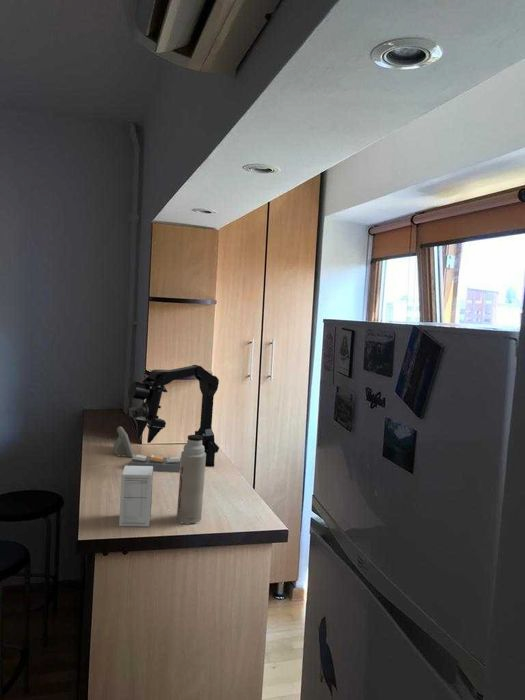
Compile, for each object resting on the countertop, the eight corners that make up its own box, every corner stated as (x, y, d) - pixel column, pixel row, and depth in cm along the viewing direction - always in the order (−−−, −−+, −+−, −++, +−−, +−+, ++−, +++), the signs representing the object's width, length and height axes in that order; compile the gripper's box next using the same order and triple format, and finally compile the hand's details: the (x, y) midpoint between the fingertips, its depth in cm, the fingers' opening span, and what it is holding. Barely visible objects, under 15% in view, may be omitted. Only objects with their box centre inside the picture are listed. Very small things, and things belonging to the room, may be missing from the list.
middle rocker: (162, 459, 231) (163, 456, 230) (162, 462, 228) (162, 459, 227) (150, 457, 230) (151, 454, 230) (149, 459, 227) (150, 456, 227)
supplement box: (151, 515, 182) (154, 465, 180) (149, 527, 173) (152, 474, 171) (121, 514, 180) (124, 464, 179) (118, 526, 171) (121, 473, 170)
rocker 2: (180, 459, 231) (179, 456, 231) (179, 461, 228) (179, 458, 228) (167, 460, 231) (167, 457, 231) (166, 462, 228) (166, 459, 228)
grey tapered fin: (133, 458, 240) (135, 434, 240) (112, 458, 239) (113, 434, 238) (134, 448, 256) (135, 425, 255) (114, 447, 254) (115, 425, 253)
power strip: (181, 465, 237) (181, 457, 237) (179, 472, 227) (180, 465, 227) (133, 462, 235) (134, 455, 235) (130, 469, 225) (130, 462, 225)
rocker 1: (145, 459, 230) (146, 456, 230) (145, 461, 227) (145, 458, 227) (133, 456, 229) (134, 453, 229) (132, 458, 226) (133, 455, 226)
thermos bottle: (175, 523, 177) (181, 438, 174) (177, 514, 185) (183, 432, 182) (200, 525, 177) (207, 440, 175) (201, 515, 185) (207, 433, 183)
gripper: (124, 394, 221) (115, 432, 221) (144, 403, 206) (135, 443, 206) (149, 398, 228) (140, 435, 227) (170, 407, 213) (161, 446, 213)
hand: (143, 440), depth 218 cm, fingers open, 9 cm apart
